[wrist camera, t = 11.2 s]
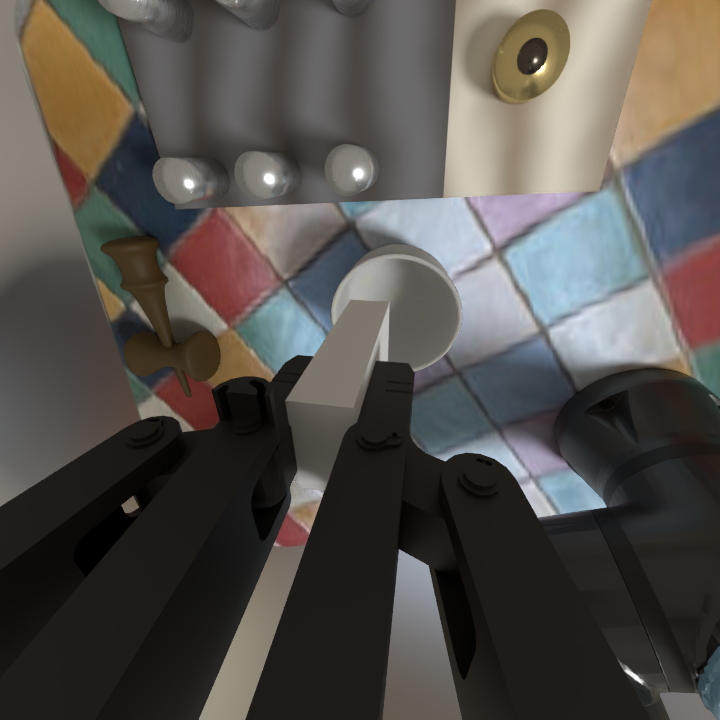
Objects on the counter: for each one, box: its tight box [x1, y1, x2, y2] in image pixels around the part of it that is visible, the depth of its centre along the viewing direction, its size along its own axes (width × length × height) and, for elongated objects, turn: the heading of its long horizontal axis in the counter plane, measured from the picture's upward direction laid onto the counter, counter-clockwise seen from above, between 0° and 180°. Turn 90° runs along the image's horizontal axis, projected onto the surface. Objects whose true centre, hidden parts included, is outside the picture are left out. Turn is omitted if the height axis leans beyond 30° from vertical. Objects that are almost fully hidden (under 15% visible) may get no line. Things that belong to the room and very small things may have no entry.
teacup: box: [331, 244, 462, 371], centre depth 32 cm, size 14×11×8 cm
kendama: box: [100, 236, 220, 398], centre depth 39 cm, size 6×10×20 cm
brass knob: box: [490, 9, 570, 105], centre depth 22 cm, size 4×4×2 cm
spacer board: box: [116, 0, 652, 209], centre depth 26 cm, size 38×16×1 cm, turn 93°
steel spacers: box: [98, 0, 380, 204], centre depth 24 cm, size 17×14×6 cm
